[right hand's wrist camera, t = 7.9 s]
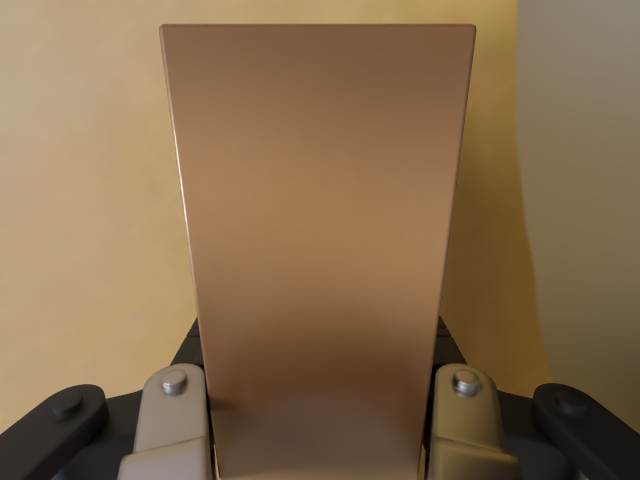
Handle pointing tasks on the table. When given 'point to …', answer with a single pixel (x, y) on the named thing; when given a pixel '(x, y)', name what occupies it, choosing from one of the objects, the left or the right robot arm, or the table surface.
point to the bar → (318, 234)
